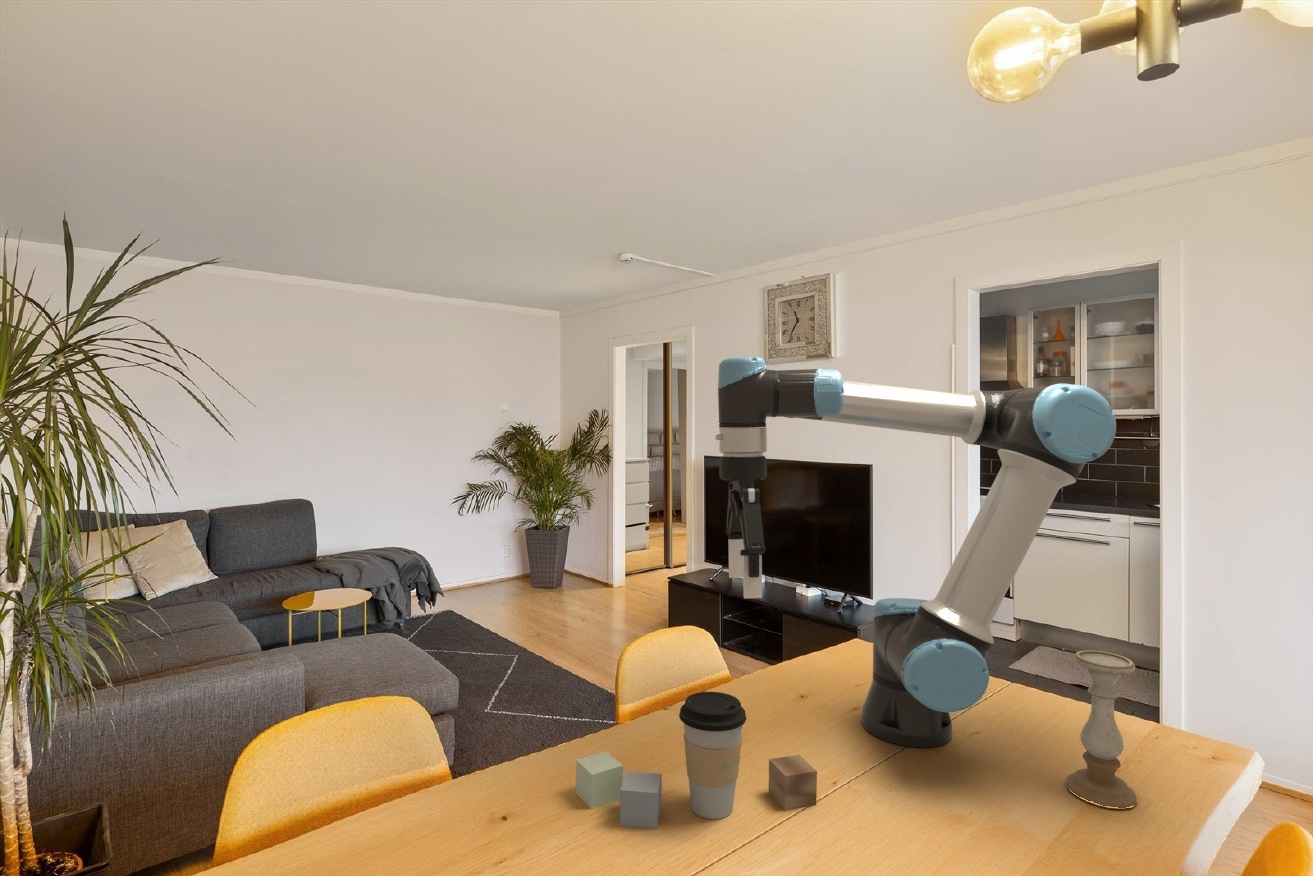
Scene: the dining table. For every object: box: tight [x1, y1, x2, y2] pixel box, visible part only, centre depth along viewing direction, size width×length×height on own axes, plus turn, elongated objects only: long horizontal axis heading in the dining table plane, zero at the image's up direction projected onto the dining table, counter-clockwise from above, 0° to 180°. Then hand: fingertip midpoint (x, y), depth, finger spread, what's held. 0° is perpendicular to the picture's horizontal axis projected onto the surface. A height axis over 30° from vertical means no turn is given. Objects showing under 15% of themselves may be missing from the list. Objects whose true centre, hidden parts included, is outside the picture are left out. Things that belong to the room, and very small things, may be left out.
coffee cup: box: [678, 691, 747, 820], centre depth 97 cm, size 9×9×15 cm
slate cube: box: [619, 771, 663, 830], centre depth 94 cm, size 5×5×5 cm
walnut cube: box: [768, 754, 818, 812], centre depth 99 cm, size 5×5×5 cm
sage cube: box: [575, 750, 624, 810], centre depth 100 cm, size 5×5×5 cm
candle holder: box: [1065, 649, 1138, 808], centre depth 101 cm, size 9×9×20 cm
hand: (744, 587), depth 110 cm, fingers open, 13 cm apart
